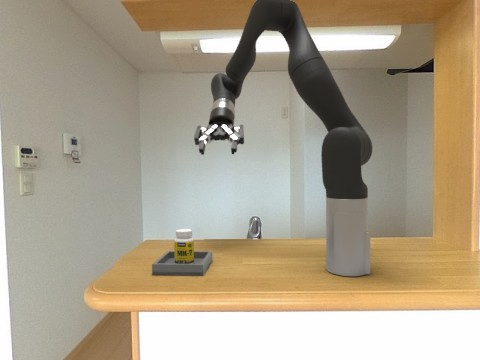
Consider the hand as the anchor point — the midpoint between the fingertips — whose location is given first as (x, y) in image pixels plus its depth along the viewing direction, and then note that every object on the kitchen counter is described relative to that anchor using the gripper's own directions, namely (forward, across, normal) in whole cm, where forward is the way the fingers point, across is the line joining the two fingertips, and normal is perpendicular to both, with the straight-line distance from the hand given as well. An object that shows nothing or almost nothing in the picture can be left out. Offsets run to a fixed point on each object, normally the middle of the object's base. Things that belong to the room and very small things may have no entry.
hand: (217, 152), depth 93 cm
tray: (+28, -7, +12) cm, 32 cm away
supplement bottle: (+28, -7, +12) cm, 31 cm away
